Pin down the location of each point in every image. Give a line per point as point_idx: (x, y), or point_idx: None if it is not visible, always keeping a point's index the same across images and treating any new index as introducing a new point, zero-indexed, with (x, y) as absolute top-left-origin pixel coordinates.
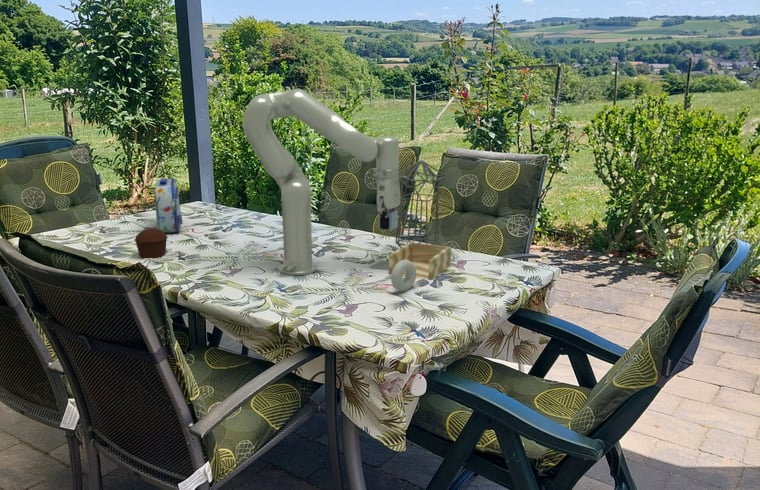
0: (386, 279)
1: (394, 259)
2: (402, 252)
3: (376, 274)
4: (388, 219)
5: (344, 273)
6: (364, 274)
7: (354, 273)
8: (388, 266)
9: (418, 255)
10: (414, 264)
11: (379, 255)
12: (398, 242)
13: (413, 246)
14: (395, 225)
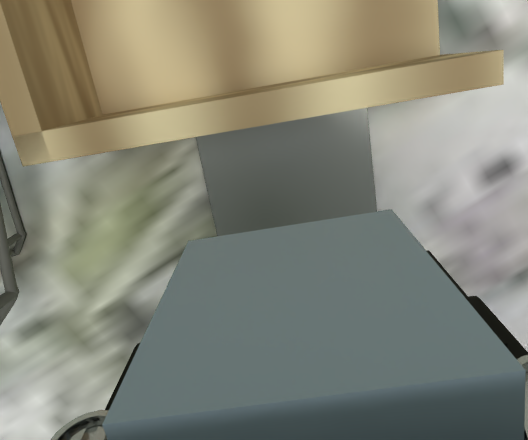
0: (522, 44)
1: (437, 59)
2: (266, 90)
3: (454, 158)
4: (488, 325)
5: (519, 313)
6: (487, 216)
7: (495, 271)
8: (302, 172)
9: (68, 65)
10: (155, 55)
11: (115, 349)
12: (9, 297)
13: (50, 115)
14: (262, 244)
